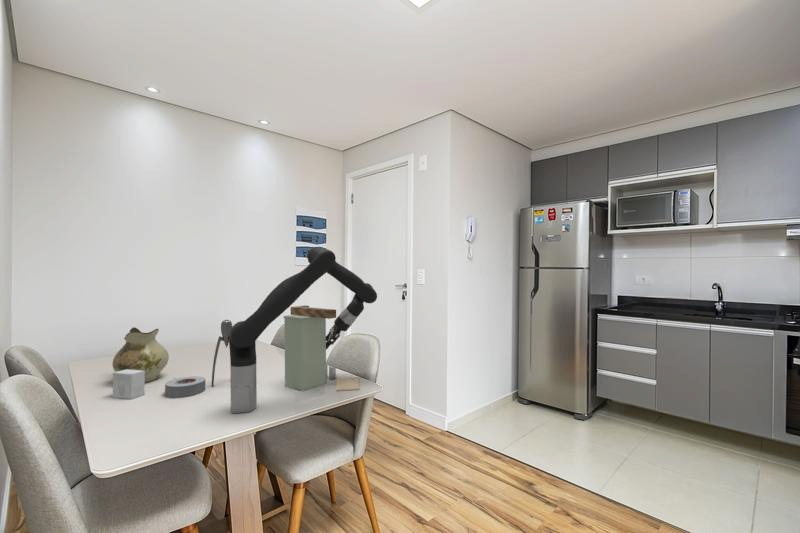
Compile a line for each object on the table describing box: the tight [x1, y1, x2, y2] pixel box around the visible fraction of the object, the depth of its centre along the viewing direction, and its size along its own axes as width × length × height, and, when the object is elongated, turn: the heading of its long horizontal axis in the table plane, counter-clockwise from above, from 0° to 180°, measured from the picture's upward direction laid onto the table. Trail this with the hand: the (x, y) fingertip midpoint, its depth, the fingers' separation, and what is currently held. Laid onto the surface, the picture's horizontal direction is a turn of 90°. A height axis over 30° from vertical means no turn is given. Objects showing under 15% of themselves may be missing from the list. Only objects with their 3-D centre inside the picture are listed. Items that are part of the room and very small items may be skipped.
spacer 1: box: [326, 364, 329, 380], centre depth 184 cm, size 3×3×6 cm
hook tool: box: [290, 305, 337, 320], centre depth 173 cm, size 26×8×4 cm, turn 54°
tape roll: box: [164, 375, 206, 399], centre depth 165 cm, size 15×15×5 cm
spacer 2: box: [328, 365, 337, 381], centre depth 183 cm, size 3×3×6 cm
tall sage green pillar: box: [283, 314, 327, 392], centre depth 174 cm, size 13×15×32 cm
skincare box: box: [112, 369, 146, 400], centre depth 160 cm, size 10×6×10 cm, turn 74°
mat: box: [335, 377, 360, 392], centre depth 173 cm, size 16×10×1 cm, turn 9°
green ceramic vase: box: [112, 327, 170, 383], centre depth 183 cm, size 22×24×25 cm
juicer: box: [211, 319, 233, 388], centre depth 174 cm, size 10×11×30 cm
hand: (325, 344), depth 182 cm, fingers open, 8 cm apart
